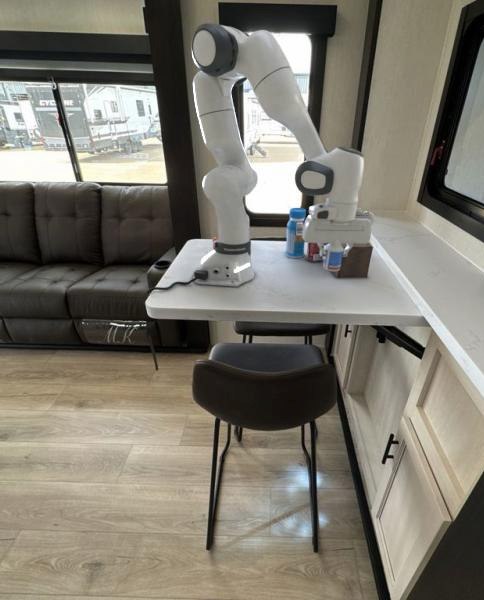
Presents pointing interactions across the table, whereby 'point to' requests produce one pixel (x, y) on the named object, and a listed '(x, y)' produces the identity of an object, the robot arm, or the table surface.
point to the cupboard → (356, 261)
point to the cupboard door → (333, 271)
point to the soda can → (313, 252)
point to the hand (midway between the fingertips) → (333, 255)
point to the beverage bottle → (295, 233)
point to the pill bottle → (333, 256)
